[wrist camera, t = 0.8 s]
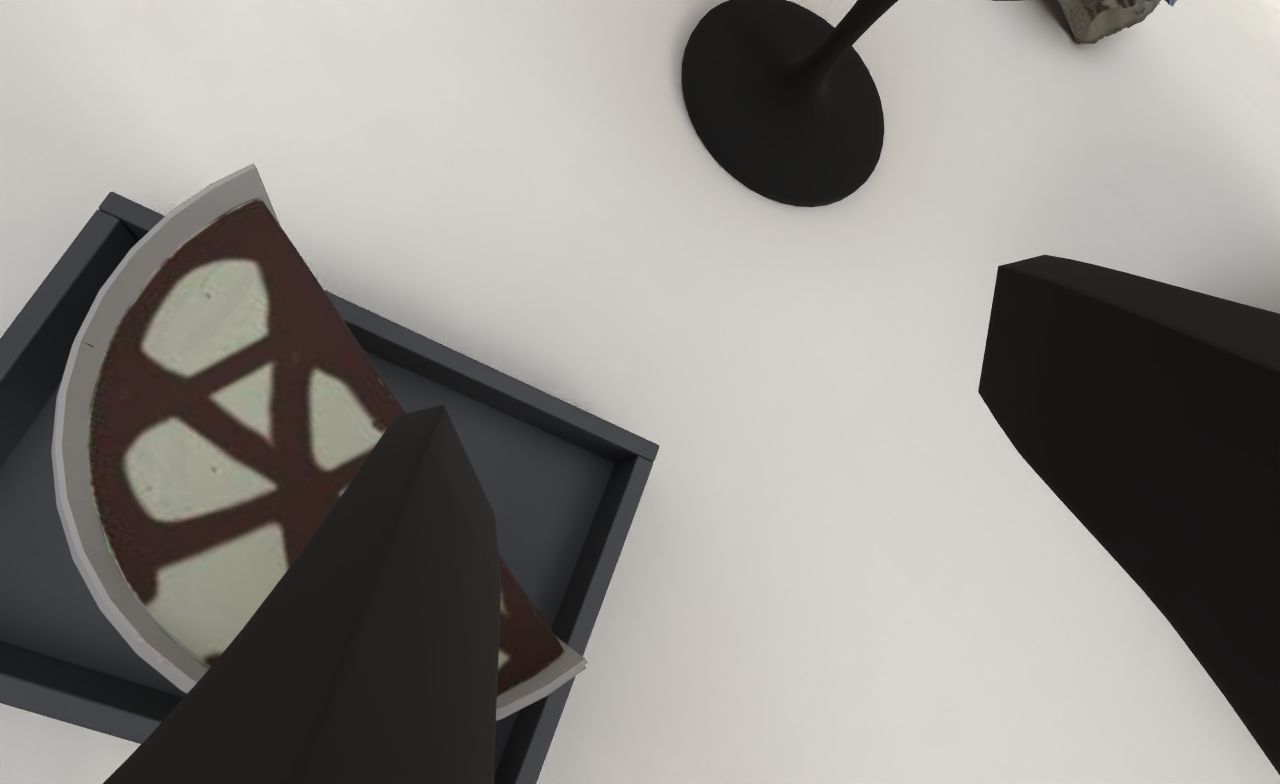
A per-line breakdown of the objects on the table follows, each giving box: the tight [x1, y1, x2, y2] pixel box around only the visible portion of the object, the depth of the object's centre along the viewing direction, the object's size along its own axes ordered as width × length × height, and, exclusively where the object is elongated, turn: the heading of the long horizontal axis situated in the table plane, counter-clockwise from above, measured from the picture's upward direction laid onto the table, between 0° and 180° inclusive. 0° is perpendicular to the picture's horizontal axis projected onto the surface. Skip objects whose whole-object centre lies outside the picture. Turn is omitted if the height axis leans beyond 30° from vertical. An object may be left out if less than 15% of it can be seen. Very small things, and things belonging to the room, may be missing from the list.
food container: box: [51, 163, 587, 721], centre depth 16 cm, size 12×6×10 cm, turn 34°
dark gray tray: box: [0, 192, 659, 784], centre depth 20 cm, size 12×17×3 cm
